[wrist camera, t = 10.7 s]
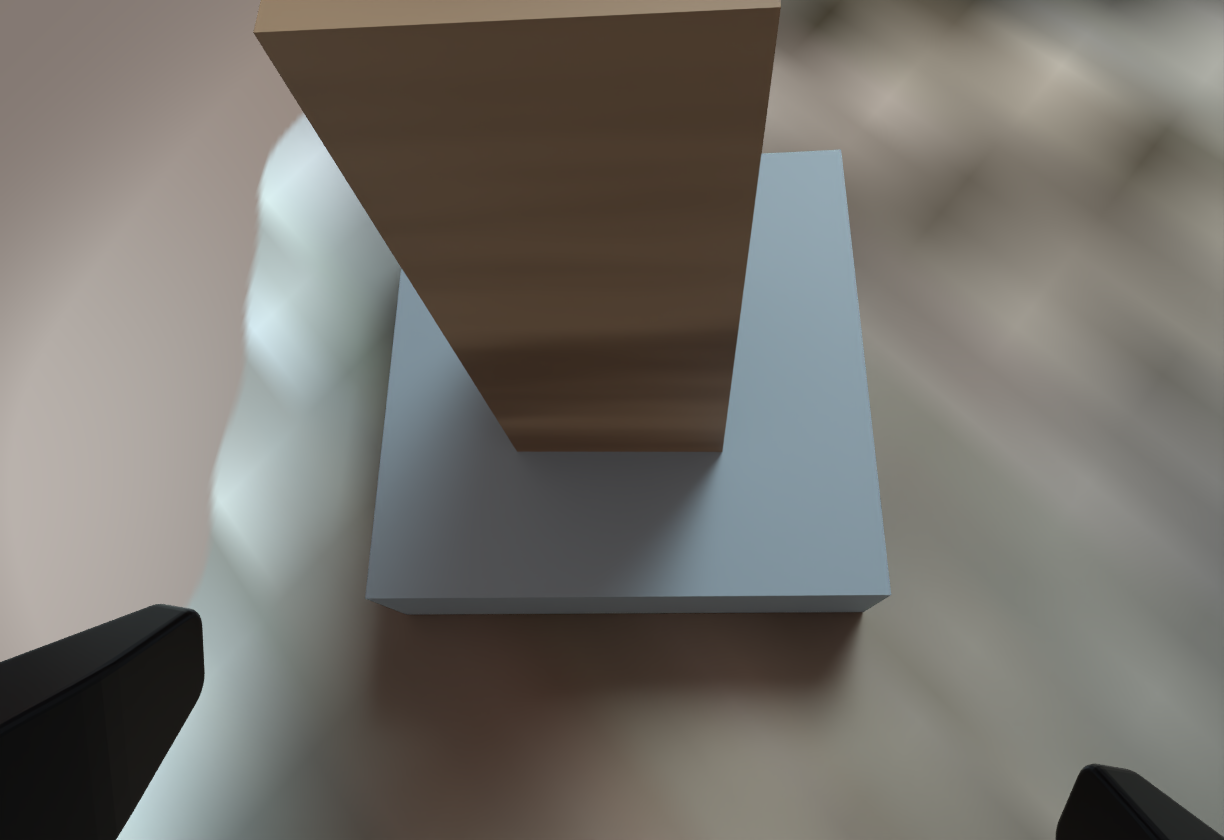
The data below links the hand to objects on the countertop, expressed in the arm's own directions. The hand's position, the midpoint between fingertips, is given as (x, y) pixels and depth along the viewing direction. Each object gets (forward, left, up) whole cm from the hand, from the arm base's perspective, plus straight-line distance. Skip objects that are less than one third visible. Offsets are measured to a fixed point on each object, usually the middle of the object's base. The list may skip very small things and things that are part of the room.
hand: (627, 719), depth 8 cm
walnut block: (+6, +6, -10) cm, 13 cm away
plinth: (+6, +6, -13) cm, 16 cm away
